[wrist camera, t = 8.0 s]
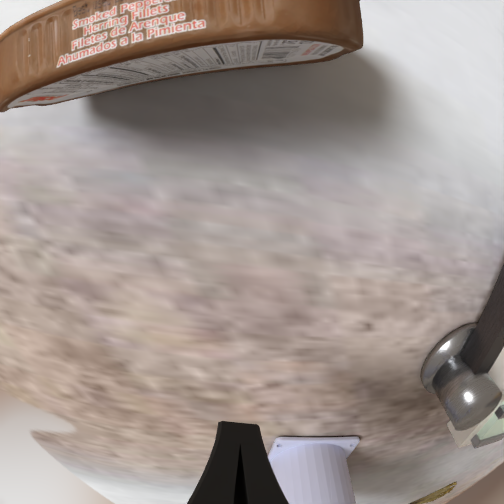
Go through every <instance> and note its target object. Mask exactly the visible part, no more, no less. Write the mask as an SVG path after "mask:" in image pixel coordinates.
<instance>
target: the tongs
mask: <svg viewBox="0 0 504 504" xmlns="http://www.w3.org/2000/svg"><path fill="white" fill-rule="evenodd" d="M456 484H457V483H456V482H454V483H452V484H450V485H448V486H446V487H444V488H445V489H444V488H442V489H440V490H438V491H436V492H434V493H432V494H430V495H428V496H426V497H424V498H421V499H419V500H417V501H414V502H412V503H410V504H423V503H427V502H431V501H434V500H436V499H437V498H439V497H442V496H444V495H445V494H446V493H449V492H450V491H451V490H452V489H453V488H454V487H455V486H453V487H452V488H450V486H452V485H456ZM449 488H450V489H449ZM447 489H448V490H447ZM442 493H444V494H442ZM441 494H442V495H441Z"/></svg>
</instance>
